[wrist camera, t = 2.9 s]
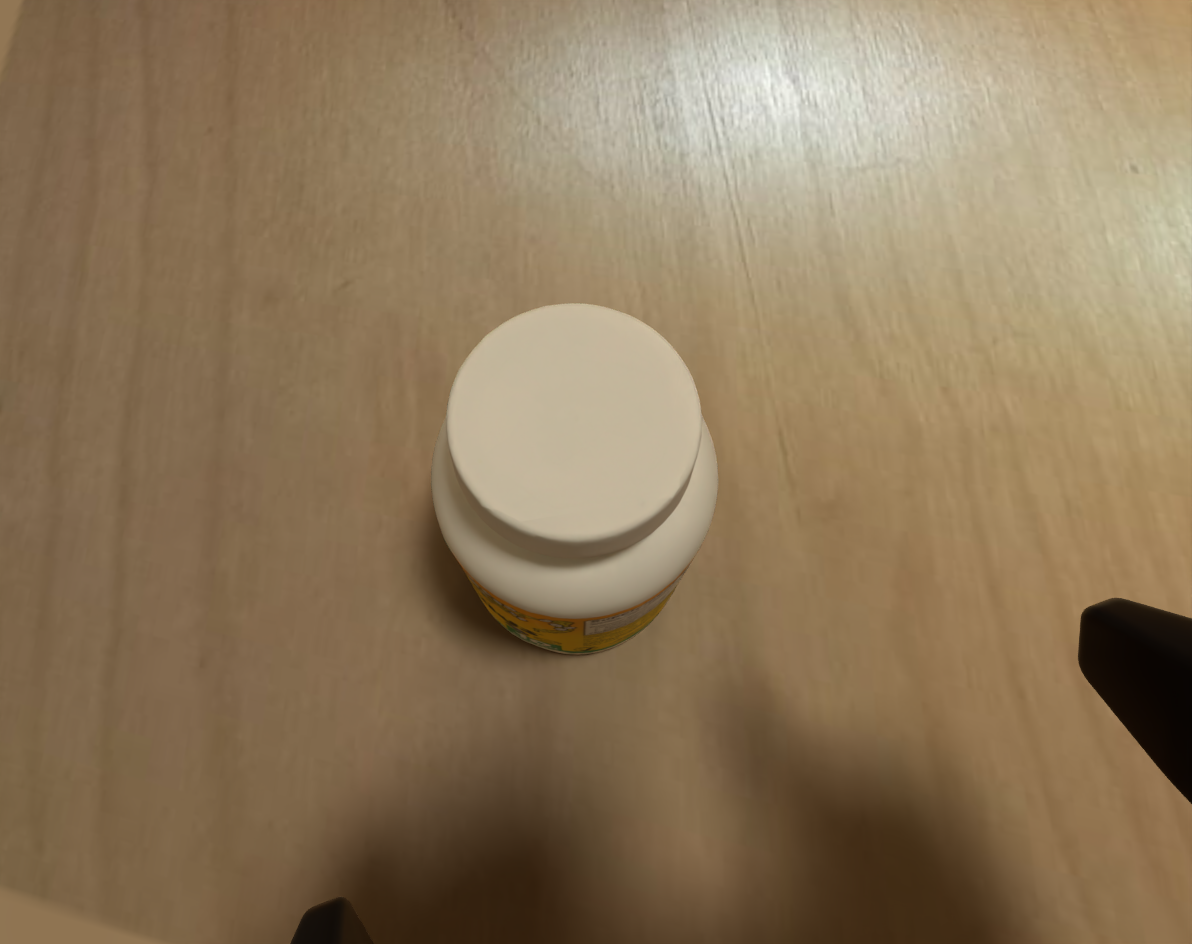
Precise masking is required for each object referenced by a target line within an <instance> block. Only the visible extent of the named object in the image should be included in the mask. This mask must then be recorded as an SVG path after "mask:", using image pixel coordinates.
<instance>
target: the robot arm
mask: <svg viewBox="0 0 1192 944" xmlns="http://www.w3.org/2000/svg"><path fill="white" fill-rule="evenodd" d="M1078 661H1079V665H1080V668H1081V671H1082V673H1083V674H1084V676H1085V678H1086V679H1087V680H1088V682H1089V683H1090V684H1091V685H1092V687H1093V688H1094V689H1095V690H1096V692H1097V693H1098V694H1099V695H1100V696H1101V698H1102V699H1103V700H1104V701H1105V703H1106V704H1107V705H1108V706H1109V707H1110V709H1111V710H1112V711H1113V712H1114V714H1115V715H1116V716H1117V717H1118V719H1119V720H1120V721H1121V722H1122V723H1123V725H1124V726H1125V727H1126V728H1127V730H1128V731H1129V732H1130V733H1131V734H1132V736H1133V737H1134V738H1135V739H1136V741H1137V742H1138V743H1139V744H1140V745H1141V747H1142V748H1143V749H1144V750H1145V752H1146V753H1147V754H1148V755H1149V756H1150V758H1151V759H1152V760H1153V761H1154V763H1155V764H1156V765H1157V766H1158V767H1159V769H1160V770H1161V771H1162V772H1163V773H1164V774H1165V776H1166V777H1167V778H1168V779H1169V780H1170V781H1171V782H1172V784H1173V785H1174V786H1175V787H1176V788H1177V789H1178V790H1179V791H1180V792H1181V793H1182V794H1183V795H1184V796H1185V797H1186V798H1187V800H1188V801H1189V802H1190V803H1191V804H1192V618H1188V617H1185V616H1181V615H1178V614H1174V613H1171V612H1168V611H1164V610H1161V609H1157V608H1154V607H1150V606H1147V605H1143V604H1140V603H1137V602H1133V601H1130V600H1126V599H1122V598H1111V599H1108V600H1105V601H1102V602H1100V603H1097V604H1095V605H1092V606H1090V607H1088V608H1086V609H1085V610H1084V611H1083V613H1082V615H1081V622H1080V636H1079V650H1078ZM290 944H373V942H372V939H371V937H370V936H369V934H368V932H367V931H366V929H365V927H364V925H363V924H362V922H361V920H360V919H359V917H358V915H357V913H356V912H355V910H354V908H353V906H352V905H351V903H350V902H349V901H348V900H347V899H346V898H344V897H337V898H335V899H332V900H330V901H327V902H324V903H322V904H319V905H317V906H314V907H312V908H310V909H309V910H308V911H307V912H306V913H305V914H304V915H303V917H302V919H301V921H300V924H299V926H298V928H297V930H296V932H295V935H294V937H293V939H292V941H291V943H290Z"/></svg>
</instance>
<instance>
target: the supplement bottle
mask: <svg viewBox="0 0 1192 944" xmlns="http://www.w3.org/2000/svg"><path fill="white" fill-rule="evenodd" d="M431 490H432V499H433V504H434V509H435V513H436V516H437V520H438V523H439V526H440V529H441V532H442V535H443V538H444V541H445V542H446V544H447V546H448V547H449V549H450V551H451V552H452V554H453V555H454V557H455V558H456V560H457V561H458V563H459V564H460V566H461V567H462V569H463V570H464V572H465V574H466V576H467V578H468V579H469V581H470V582H471V584H472V586H473V587H474V589H475V591H476V592H477V594H478V595H479V597H480V599H481V600H482V602H483V603H484V605H485V606H486V608H487V609H488V611H489V612H490V613H491V615H492V616H493V617H494V618H495V619H496V620H497V621H498V622H499V623H500V624H501V625H502V626H503V627H504V628H506V629H507V630H508V631H509V632H511V633H512V634H513V635H515V636H517V637H519V638H520V639H522V640H524V641H526V642H528V643H531V644H533V645H536V646H538V647H541V648H544V649H547V650H550V651H554V652H558V653H563V654H577V655H580V654H590V653H597V652H601V651H605V650H608V649H611V648H613V647H616V646H618V645H620V644H622V643H624V642H626V641H628V640H630V639H631V638H633V637H634V636H636V635H637V634H639V633H640V632H641V631H642V630H643V629H644V628H646V627H647V626H648V625H649V624H650V623H651V622H652V621H653V620H654V618H655V617H656V616H657V615H658V614H659V612H660V611H661V610H662V609H663V607H664V606H665V605H666V603H667V602H668V600H669V598H670V597H671V595H672V594H673V592H674V590H675V588H676V586H677V585H678V583H679V581H680V580H681V578H682V577H683V575H684V573H685V572H686V570H687V569H688V567H689V565H690V564H691V562H692V561H693V559H694V557H695V555H696V554H697V552H698V550H699V549H700V547H701V545H702V543H703V541H704V539H705V536H706V534H707V532H708V530H709V527H710V524H711V521H712V518H713V514H714V511H715V505H716V499H717V494H718V466H717V459H716V453H715V449H714V445H713V441H712V438H711V435H710V433H709V430H708V428H707V425H706V423H705V421H704V419H703V416H702V413H701V407H700V400H699V396H698V392H697V389H696V386H695V383H694V380H693V378H692V376H691V374H690V372H689V370H688V368H687V366H686V365H685V363H684V362H683V360H682V359H681V357H680V356H679V355H678V353H677V352H676V351H675V349H674V348H673V347H672V346H671V345H670V344H669V342H668V341H667V340H666V339H665V338H664V337H662V336H661V335H660V334H659V333H658V332H656V331H655V330H654V329H652V328H651V327H650V326H648V325H647V324H645V323H643V322H641V321H640V320H638V319H636V318H634V317H632V316H630V315H628V314H626V313H623V312H621V311H617V310H614V309H610V308H607V307H603V306H598V305H591V304H582V303H574V304H557V305H549V306H544V307H541V308H536V309H532V310H530V311H527V312H525V313H522V314H520V315H517V316H515V317H513V318H511V319H510V320H508V321H506V322H504V323H503V324H501V325H500V326H498V327H497V328H495V329H494V330H493V331H491V332H490V333H489V334H487V335H486V336H485V337H484V338H483V339H482V340H481V341H480V342H479V344H478V345H477V346H476V347H475V348H474V349H473V350H472V352H471V353H470V354H469V355H468V357H467V358H466V359H465V361H464V362H463V364H462V366H461V367H460V369H459V371H458V373H457V375H456V378H455V380H454V383H453V385H452V388H451V390H450V395H449V400H448V404H447V413H446V418H445V420H444V422H443V424H442V426H441V429H440V432H439V435H438V438H437V441H436V444H435V448H434V453H433V458H432V468H431Z"/></svg>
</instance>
